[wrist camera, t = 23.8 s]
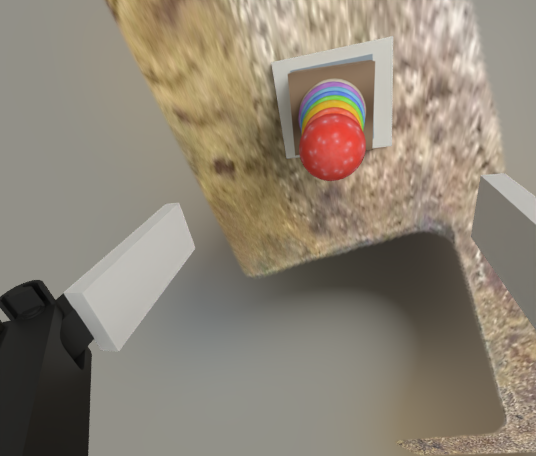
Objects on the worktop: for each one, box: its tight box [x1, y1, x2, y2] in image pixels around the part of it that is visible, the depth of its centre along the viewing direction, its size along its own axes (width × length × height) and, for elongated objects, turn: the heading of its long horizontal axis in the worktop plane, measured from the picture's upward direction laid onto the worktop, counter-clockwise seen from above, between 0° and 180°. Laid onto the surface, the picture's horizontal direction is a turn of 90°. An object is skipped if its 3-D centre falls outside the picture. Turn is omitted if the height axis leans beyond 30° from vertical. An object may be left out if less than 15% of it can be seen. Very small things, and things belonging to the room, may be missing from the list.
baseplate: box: [271, 36, 393, 159], centre depth 44 cm, size 14×16×2 cm
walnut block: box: [288, 60, 375, 156], centre depth 40 cm, size 10×10×7 cm
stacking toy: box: [299, 78, 366, 181], centre depth 29 cm, size 8×8×19 cm
